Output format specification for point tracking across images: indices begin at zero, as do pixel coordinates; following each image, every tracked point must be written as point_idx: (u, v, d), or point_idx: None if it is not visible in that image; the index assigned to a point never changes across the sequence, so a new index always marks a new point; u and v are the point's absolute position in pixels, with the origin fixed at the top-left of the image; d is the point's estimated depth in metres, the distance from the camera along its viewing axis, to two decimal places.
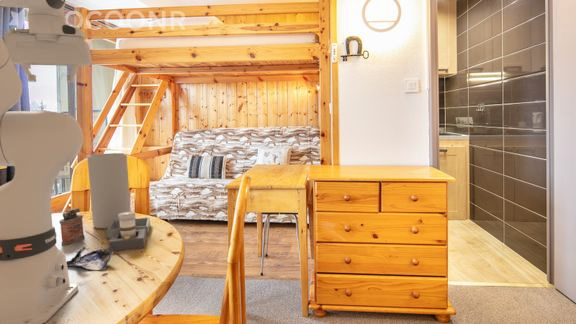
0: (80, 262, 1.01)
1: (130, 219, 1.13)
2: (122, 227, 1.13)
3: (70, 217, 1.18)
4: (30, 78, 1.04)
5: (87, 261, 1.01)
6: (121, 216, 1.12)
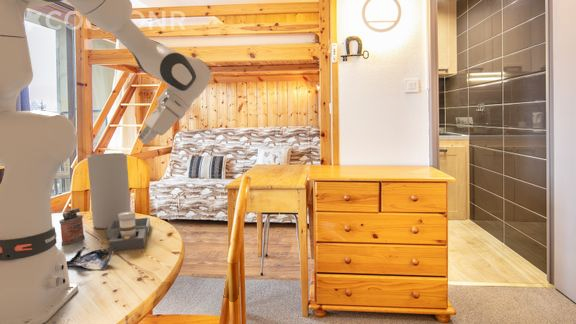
0: (79, 262, 1.01)
1: (130, 219, 1.13)
2: (122, 227, 1.13)
3: (70, 217, 1.18)
4: (139, 135, 1.19)
5: (86, 261, 1.02)
6: (121, 216, 1.12)
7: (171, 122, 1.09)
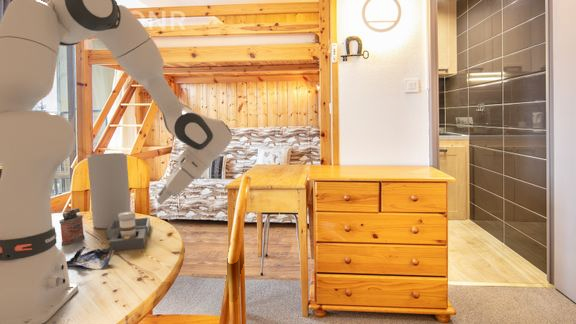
0: (79, 262, 1.01)
1: (130, 219, 1.13)
2: (122, 227, 1.13)
3: (70, 217, 1.18)
4: (159, 193, 1.21)
5: (85, 261, 1.02)
6: (121, 216, 1.12)
7: (185, 183, 1.09)
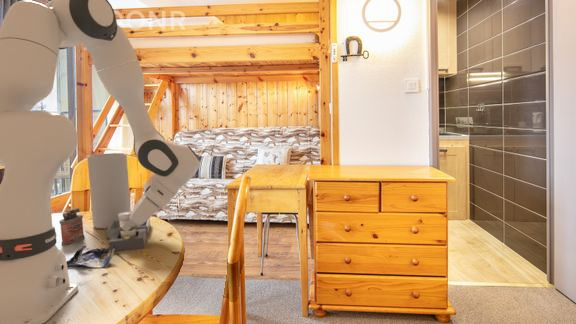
0: (78, 262, 1.01)
1: None
2: (121, 227, 1.13)
3: (70, 217, 1.18)
4: None
5: (84, 260, 1.02)
6: (121, 216, 1.12)
7: (149, 213, 1.07)
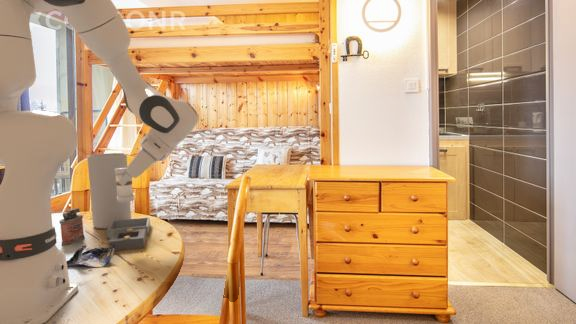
0: (77, 261, 1.01)
1: None
2: (118, 182, 1.11)
3: (70, 217, 1.18)
4: None
5: (84, 260, 1.02)
6: (117, 170, 1.11)
7: (146, 164, 1.05)
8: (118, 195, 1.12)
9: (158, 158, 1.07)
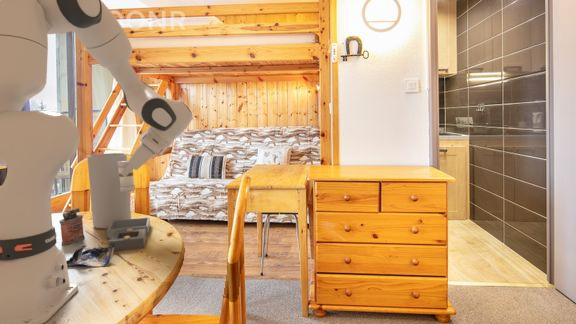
0: (76, 261, 1.01)
1: None
2: (120, 173, 1.24)
3: (70, 217, 1.18)
4: None
5: (83, 260, 1.02)
6: (120, 163, 1.24)
7: (145, 158, 1.18)
8: (121, 185, 1.25)
9: (156, 152, 1.20)
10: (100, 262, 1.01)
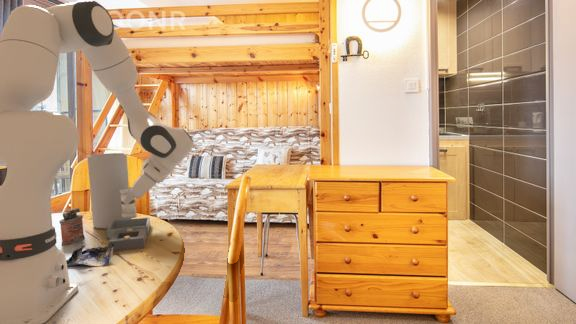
0: None
1: None
2: (122, 201, 1.25)
3: (70, 217, 1.18)
4: None
5: (82, 260, 1.03)
6: (122, 191, 1.25)
7: (147, 187, 1.19)
8: (123, 212, 1.26)
9: (158, 181, 1.21)
10: (99, 262, 1.01)
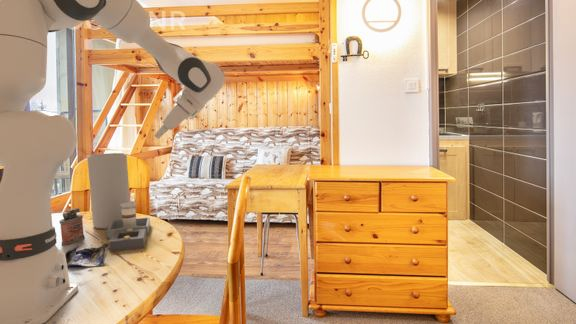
0: None
1: (131, 207, 1.26)
2: (123, 215, 1.26)
3: (70, 217, 1.18)
4: None
5: (74, 261, 1.02)
6: (123, 205, 1.25)
7: (181, 118, 1.16)
8: (123, 226, 1.26)
9: (191, 112, 1.18)
10: (93, 262, 1.01)
